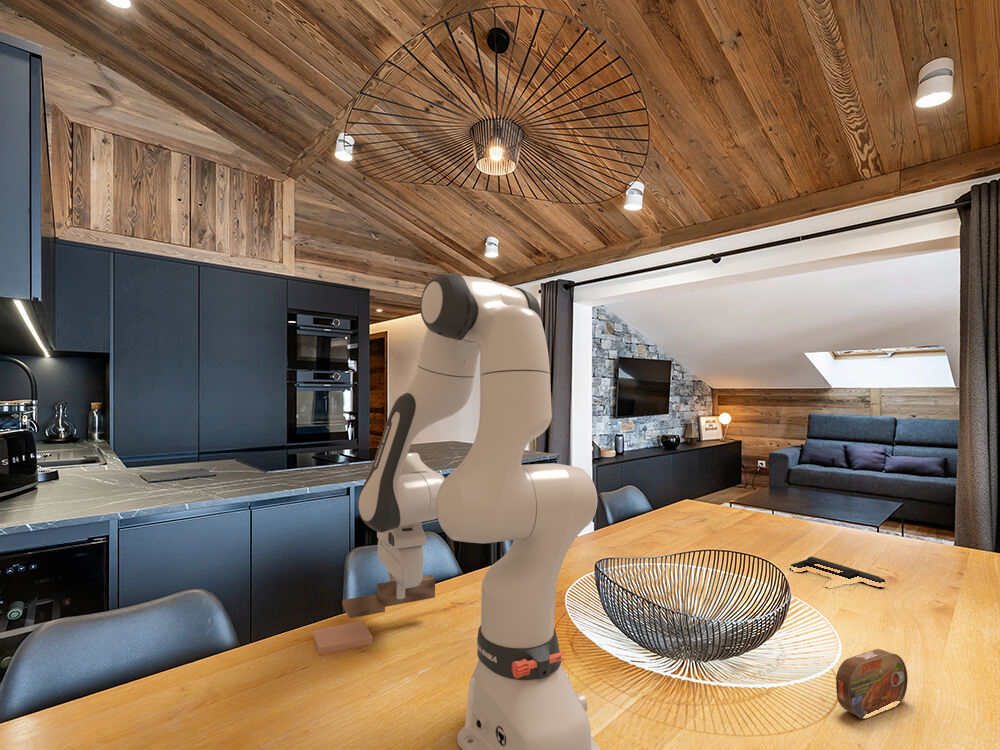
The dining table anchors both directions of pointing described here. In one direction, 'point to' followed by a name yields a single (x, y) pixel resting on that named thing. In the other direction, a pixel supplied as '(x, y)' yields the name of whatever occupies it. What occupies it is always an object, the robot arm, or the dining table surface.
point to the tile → (341, 637)
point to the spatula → (388, 598)
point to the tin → (871, 681)
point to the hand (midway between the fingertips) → (397, 594)
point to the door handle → (846, 572)
